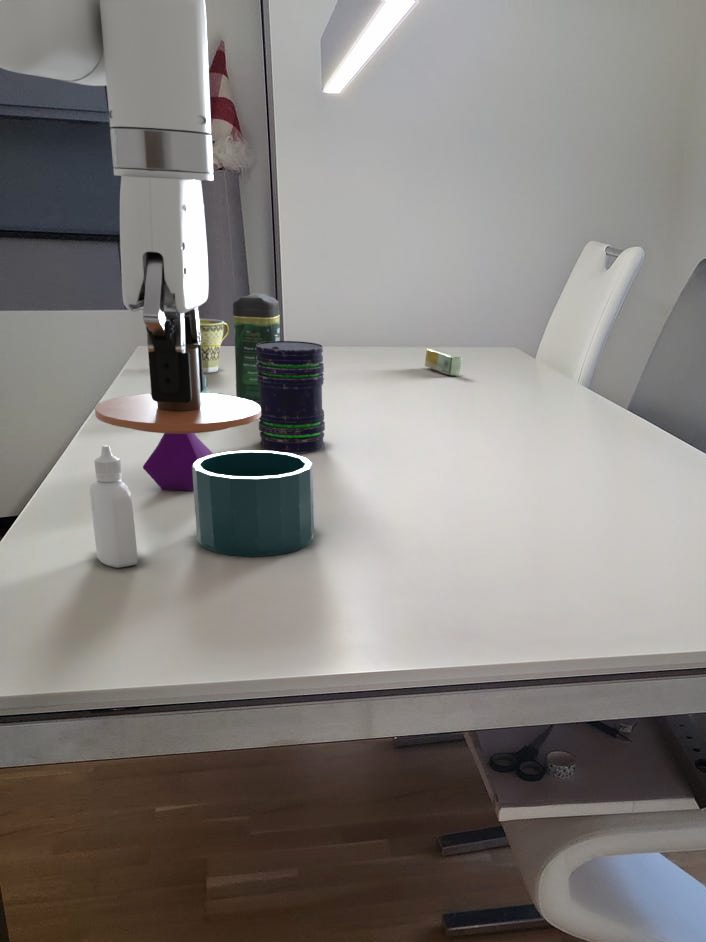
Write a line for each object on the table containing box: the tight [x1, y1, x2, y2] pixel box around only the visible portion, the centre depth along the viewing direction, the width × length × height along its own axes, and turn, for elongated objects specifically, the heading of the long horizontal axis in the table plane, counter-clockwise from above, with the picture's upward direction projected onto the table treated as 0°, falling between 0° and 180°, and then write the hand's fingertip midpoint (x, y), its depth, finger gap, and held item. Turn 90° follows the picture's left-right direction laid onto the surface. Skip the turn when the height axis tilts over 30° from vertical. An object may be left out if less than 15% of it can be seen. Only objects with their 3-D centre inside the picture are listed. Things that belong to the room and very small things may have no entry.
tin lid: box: [94, 344, 261, 434], centre depth 87 cm, size 14×14×6 cm
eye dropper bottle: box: [89, 444, 139, 569], centre depth 105 cm, size 4×6×12 cm
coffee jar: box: [232, 293, 281, 403], centre depth 188 cm, size 10×8×19 cm
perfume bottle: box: [142, 433, 214, 492], centre depth 131 cm, size 8×8×18 cm
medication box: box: [424, 348, 463, 377], centre depth 229 cm, size 12×3×4 cm, turn 31°
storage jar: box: [256, 340, 326, 454], centre depth 155 cm, size 10×10×15 cm
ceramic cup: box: [194, 318, 230, 374], centre depth 218 cm, size 13×10×10 cm
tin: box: [192, 450, 315, 558], centre depth 114 cm, size 13×13×8 cm
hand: (178, 394), depth 87 cm, fingers closed on tin lid, 3 cm apart
